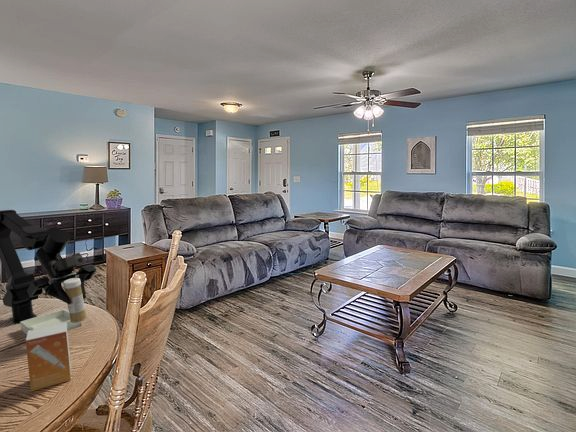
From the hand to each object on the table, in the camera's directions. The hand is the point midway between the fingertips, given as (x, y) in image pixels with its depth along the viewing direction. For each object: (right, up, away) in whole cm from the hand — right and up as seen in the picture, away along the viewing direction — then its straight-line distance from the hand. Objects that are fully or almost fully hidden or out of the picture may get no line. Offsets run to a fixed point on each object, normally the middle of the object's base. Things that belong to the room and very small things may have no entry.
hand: (77, 300), depth 103 cm
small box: (+7, -15, -21) cm, 26 cm away
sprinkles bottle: (-1, -7, +2) cm, 7 cm away
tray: (-13, -11, +7) cm, 19 cm away
